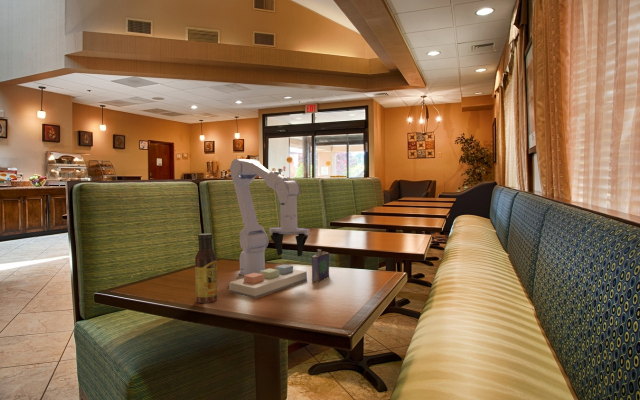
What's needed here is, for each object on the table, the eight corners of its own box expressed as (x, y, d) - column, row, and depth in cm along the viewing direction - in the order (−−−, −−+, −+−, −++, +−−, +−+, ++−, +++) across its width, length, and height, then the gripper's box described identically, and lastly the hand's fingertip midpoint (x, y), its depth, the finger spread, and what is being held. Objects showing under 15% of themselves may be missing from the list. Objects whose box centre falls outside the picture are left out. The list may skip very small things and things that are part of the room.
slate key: (275, 274, 128) (275, 266, 128) (284, 272, 131) (283, 264, 131) (284, 276, 125) (284, 268, 125) (293, 273, 128) (292, 265, 128)
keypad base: (229, 292, 117) (229, 282, 117) (281, 276, 136) (281, 267, 136) (255, 298, 109) (254, 288, 109) (306, 280, 128) (306, 271, 128)
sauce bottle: (211, 304, 105) (208, 235, 104) (191, 303, 107) (188, 235, 106) (222, 297, 112) (219, 232, 111) (203, 296, 113) (200, 232, 112)
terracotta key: (244, 284, 117) (243, 275, 116) (254, 281, 120) (254, 272, 120) (253, 286, 114) (253, 277, 114) (263, 283, 117) (263, 274, 117)
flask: (316, 283, 125) (315, 251, 125) (309, 281, 127) (308, 251, 126) (331, 276, 133) (330, 247, 132) (324, 276, 134) (323, 246, 134)
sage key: (260, 279, 122) (260, 271, 122) (269, 276, 126) (269, 268, 125) (269, 281, 119) (269, 272, 119) (279, 278, 123) (278, 269, 123)
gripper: (264, 216, 125) (265, 256, 126) (303, 217, 119) (304, 258, 120) (274, 214, 131) (275, 252, 132) (311, 215, 126) (312, 254, 127)
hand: (289, 255), depth 127 cm, fingers open, 7 cm apart
